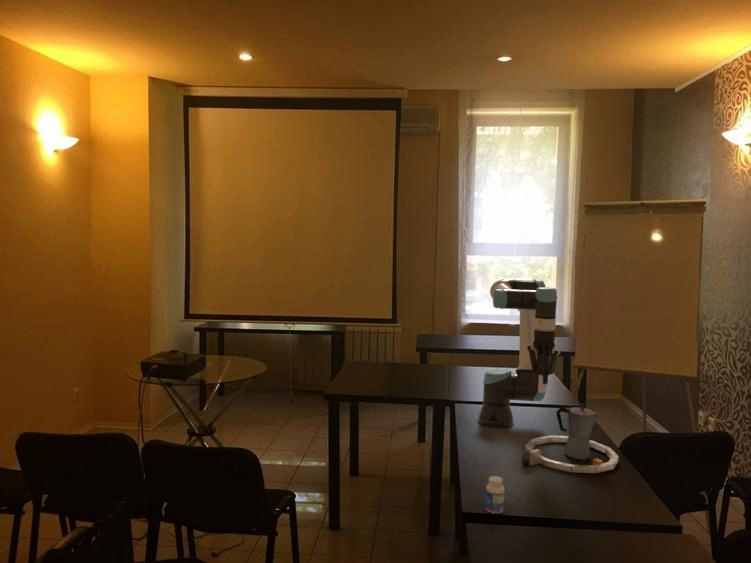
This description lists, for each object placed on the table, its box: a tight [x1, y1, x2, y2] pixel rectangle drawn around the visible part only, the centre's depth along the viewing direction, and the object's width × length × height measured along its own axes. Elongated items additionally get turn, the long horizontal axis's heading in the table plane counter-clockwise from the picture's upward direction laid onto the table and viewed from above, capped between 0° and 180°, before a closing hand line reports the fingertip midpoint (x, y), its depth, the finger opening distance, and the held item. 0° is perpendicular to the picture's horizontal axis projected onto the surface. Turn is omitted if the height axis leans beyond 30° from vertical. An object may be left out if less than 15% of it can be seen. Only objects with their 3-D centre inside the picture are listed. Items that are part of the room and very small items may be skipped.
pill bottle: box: [485, 475, 505, 514], centre depth 177 cm, size 6×5×10 cm
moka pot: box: [556, 403, 601, 461], centre depth 222 cm, size 10×15×20 cm, turn 76°
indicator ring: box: [521, 435, 619, 474], centre depth 220 cm, size 32×39×5 cm
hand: (541, 391), depth 220 cm, fingers closed
